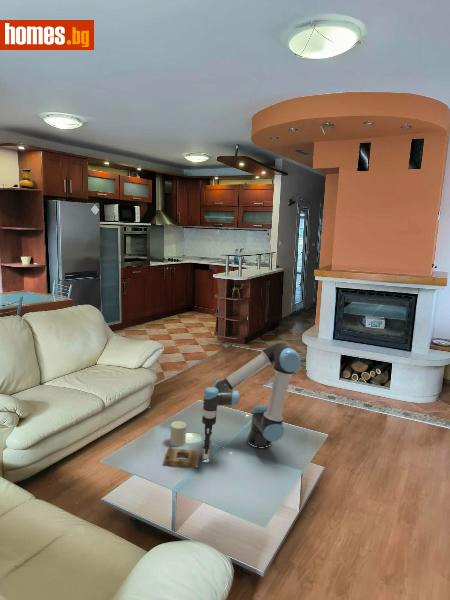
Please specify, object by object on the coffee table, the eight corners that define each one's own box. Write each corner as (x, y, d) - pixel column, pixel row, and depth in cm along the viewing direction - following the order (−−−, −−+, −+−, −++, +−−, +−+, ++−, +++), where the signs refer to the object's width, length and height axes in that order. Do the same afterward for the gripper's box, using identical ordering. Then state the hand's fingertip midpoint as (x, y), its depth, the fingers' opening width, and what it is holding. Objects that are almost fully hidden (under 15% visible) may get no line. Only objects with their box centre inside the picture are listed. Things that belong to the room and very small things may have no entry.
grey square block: (210, 458, 229) (211, 440, 227) (209, 462, 224) (211, 444, 222) (202, 457, 229) (203, 439, 227) (201, 462, 224) (203, 443, 222)
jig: (199, 455, 230) (200, 447, 230) (197, 468, 219) (198, 459, 218) (167, 453, 231) (168, 445, 230) (164, 465, 219) (164, 456, 218)
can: (182, 448, 237) (183, 428, 235) (167, 445, 239) (168, 426, 237) (187, 440, 246) (188, 421, 244) (172, 437, 248) (173, 419, 246)
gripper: (204, 405, 234) (201, 439, 238) (200, 426, 209) (198, 463, 213) (217, 406, 234) (214, 440, 238) (215, 427, 209) (212, 465, 213)
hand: (206, 451), depth 226 cm, fingers open, 13 cm apart
